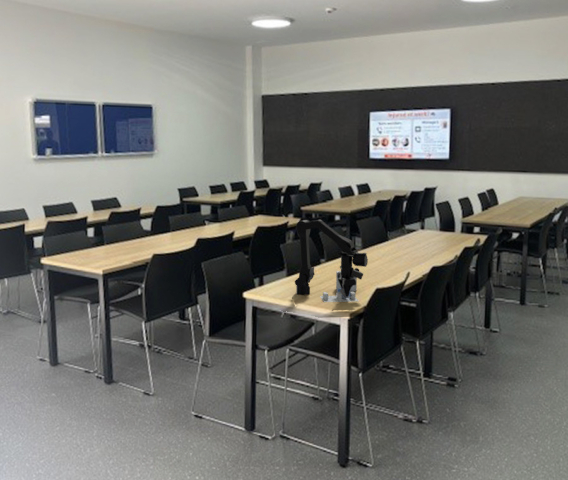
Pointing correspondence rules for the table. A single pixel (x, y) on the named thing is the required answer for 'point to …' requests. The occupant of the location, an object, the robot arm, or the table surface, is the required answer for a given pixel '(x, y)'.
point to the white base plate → (338, 297)
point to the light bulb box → (340, 286)
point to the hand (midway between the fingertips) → (345, 294)
